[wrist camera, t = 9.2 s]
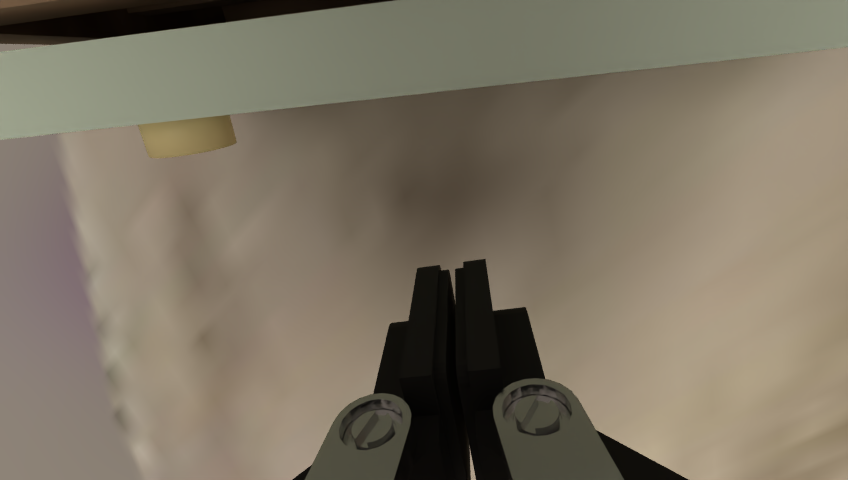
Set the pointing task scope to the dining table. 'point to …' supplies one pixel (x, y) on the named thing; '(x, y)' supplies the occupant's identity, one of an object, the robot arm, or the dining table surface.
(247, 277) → the dining table surface
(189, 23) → the wooden shelf
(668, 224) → the dining table surface
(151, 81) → the cabinet door
